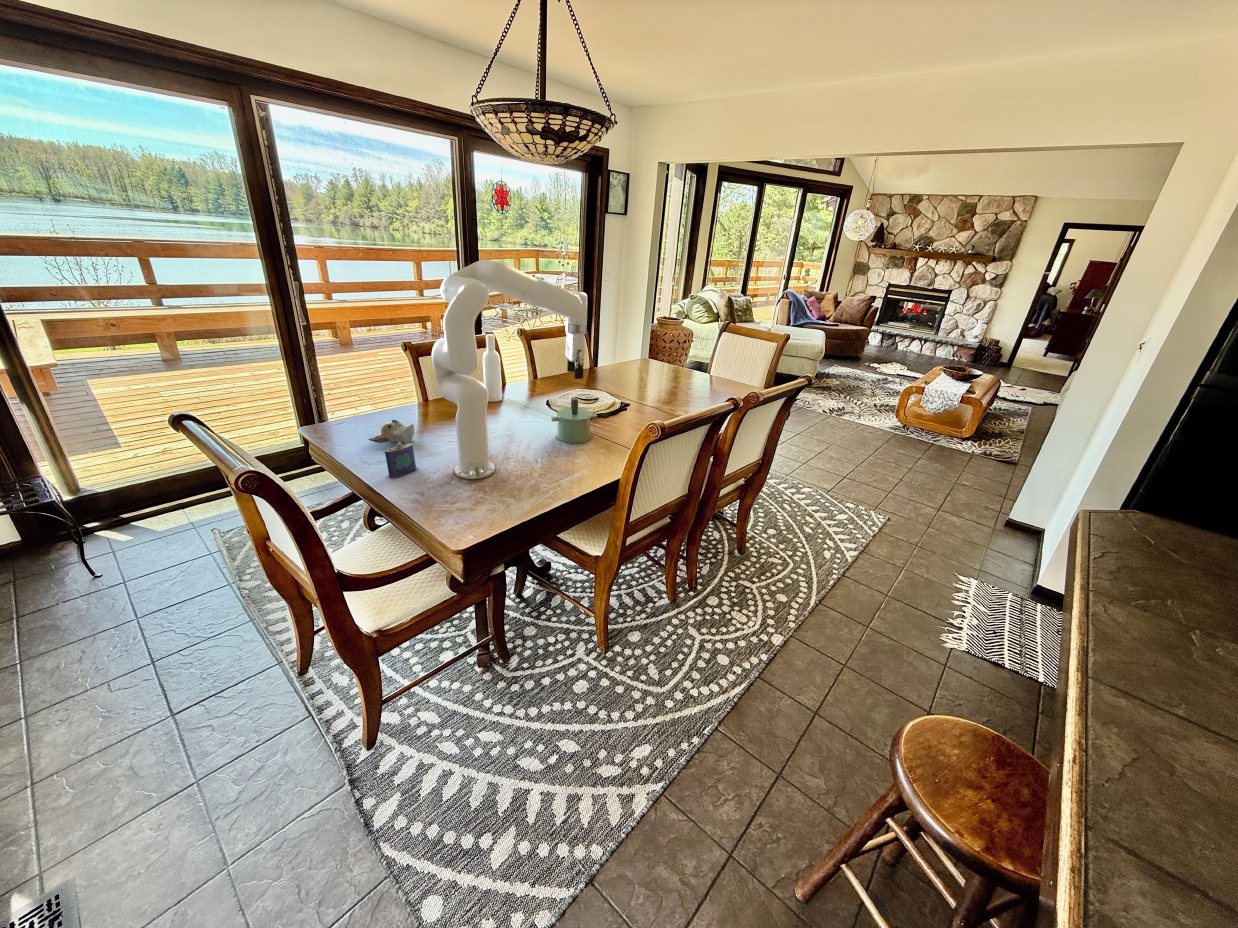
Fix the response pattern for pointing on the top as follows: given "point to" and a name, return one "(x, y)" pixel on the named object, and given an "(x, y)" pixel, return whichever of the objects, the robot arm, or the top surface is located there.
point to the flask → (400, 460)
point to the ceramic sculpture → (395, 433)
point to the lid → (574, 412)
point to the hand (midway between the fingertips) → (575, 375)
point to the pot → (573, 430)
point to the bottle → (492, 370)
